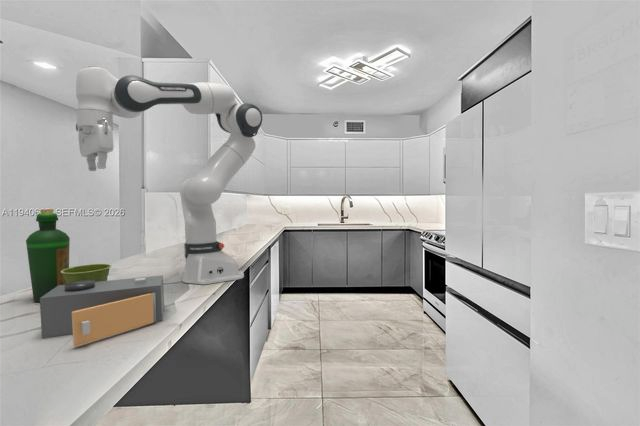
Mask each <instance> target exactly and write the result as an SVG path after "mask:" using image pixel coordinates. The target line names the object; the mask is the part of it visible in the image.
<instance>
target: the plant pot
mask: <svg viewBox="0 0 640 426" xmlns="http://www.w3.org/2000/svg"><path fill="white" fill-rule="evenodd" d="M110 268H112V265H111V264H109V263H95V264H93V263H92V264H84V265H77V266H76V265H75V266H71V267H69V268H67V269H64V270H62V271H61V273H62V274H63V275H64V278H65V281H66V282H67V284H68V283H72V282H77V281H86V280H92V281H95V282H99V281H108V276H109V273H110Z"/></svg>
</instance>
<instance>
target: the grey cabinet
mask: <svg viewBox="0 0 640 426" xmlns="http://www.w3.org/2000/svg"><path fill="white" fill-rule="evenodd" d="M164 291H165V289H164V275H155V276H154V275H151V276H142V277H133V278H123V279H122V278H121V279H110V280H107V281H99V282H95V281H92V280H86V281H77V282H72V283H68V284H66V285H58V286H57V287H55V288H54V289H52V290H51V291H49V292H48V293H47V294H45V295H44V296H42V297H41V298H40V302H39V307H40V309H39V310H40V327H41V329H40V330H41V339H48V338H55V337H61V336H68V335H73V329H72V312H73V311H77V310H81V309H86V308H90V307H94V306H98V305H103V304H107V303H111V302H115V301H120V300H124V299H128V298H132V297H137V296H141V295H145V294H149V293H155V296H156V322H155V323H157V322H158V321H159V322H163V318H164V312H165V293H164ZM159 322H158V323H159Z"/></svg>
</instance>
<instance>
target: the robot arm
mask: <svg viewBox="0 0 640 426" xmlns="http://www.w3.org/2000/svg"><path fill="white" fill-rule="evenodd" d="M75 83H76V85H75V94H76V95H75V96H76V99H77V108H76V124H75V132H76V133H78V135H77V136H78V147H79V152H80V155H81V157H83V158H85V159H86V162H87V163H86V164H87V166H88V167H87V168H88V171H89V172H96V171H97V169H99V170H105V169H106V168H107V159H108V153H111V152H113V150H114V148H115V147H114V135H113V131H114V119H113V117H114V116H117V117H121V118H124V119H125V118H126V119H135V118H136V117H137V118H138V116H140V115H141V114H143V112H145V111H147V110H149V109H151V108H153V107H154V106H157V105H182V106H183V108H184V109H185V110H186V111H187V112H188V113H189V114H195V115H212V114H215V117H216V121H217V123H218V126H219V128H220V129H221V130H222V131H223V132H225V133H228V134H229V136H228V139H227V140H226V141H225V142H224V143H223V144H222V145H221V146H220V147H219V148H218V149H217V150H216V151H215V152H214V153H213V154H212V155H211V156H210V157H209V159H207V162H206V163H205V164H204V166H203V167H202V168H201V170H200V171H199V172H197V174H196V175H195V176H193V177H189V178H187V179H185V180H184V181H183V182H182V184H181V185H180V188H179V196H180V201H181V208H182V213H183V218H184V233H185V235H184V236H185V237H184V238H185V243H184V246H183V251H184V254H183V255H184V258H185V263H184V271H183V276H182V280H181V281H182V282H183V283H186V284H195V285H210V284H216V283H217V284H218V283H222V282H229V281H234V280H235V281H236V280H241V279H243V278H244V277H245V273H244V272H243V271H242V270H239V268H238V266H239V265H238V263H237V261H236V259H235V258H233V257H232V256H230V255H229V254H227V253H226V252H225V251H223V249H224V248H225V244H224V243H223V242H221V241H217V220H216V218H215V215H214V212H213V208H212V204H214V203H216V202H217V201H218V200H219V199H220V198H221V196H222V193H223V192H224V190H225V189H226V187H227V186H228V184H229V183H230V181H231V180H232V178H233V177H234V176H235V175H236V174H237V173H238V172H239V171H240V170H241V169H242V168H243V166H245V165H246V163H247V162H248V160H249V159H250V158H251V157H252V155H253V153H254V151H255V149H256V145H257V144H256V142H255V139H254V137H255V136H257V135H258V133H259V129H260V128H261V126H262V123H263V114H262V111H261V109H260V108H259V107H258V106H257V105H255V104H253V103H248V102H247V103H238V102H237V100H236V94H235V92H234V90H233V88H231V87H230V86H229V85H227V84H224V83H219V82H211V81H209V82H207V81H206V82H205V81H204V82H203V81H198V82H189V83H177V82H158V81H152V80H149V79H146V78H144V77H141V76H138V75H133V74H131V75H125V76H122V77H121V78H120V79H119V78H117V77H115V76H114V75H112V74H111V72H109V70H108V69H107V68H103V67H102V66H101V67H100V66H86V67H83V68H81V69H80V70H78V72H77V74H76V82H75ZM96 157H97V162H96ZM96 164H97V165H96Z"/></svg>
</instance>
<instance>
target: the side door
mask: <svg viewBox="0 0 640 426" xmlns="http://www.w3.org/2000/svg"><path fill="white" fill-rule="evenodd" d="M153 323H157V322H156V296H155V293H149V294H145V295H141V296H137V297H132V298H128V299H124V300H120V301H115V302H111V303H107V304H103V305H98V306H94V307H90V308H86V309H81V310H77V311H73V312H72V329H73V334H72V345H73V347H78V346H81V345H85V344H87V343H92V342H95V341H97V340H100V339H101V340H102V339H104V338H108V337H111V336H114V335H117V334H121V333H124V332H127V331H130V330H133V329H137V328H140V327H143V326H146V325H150V324H153Z"/></svg>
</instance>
